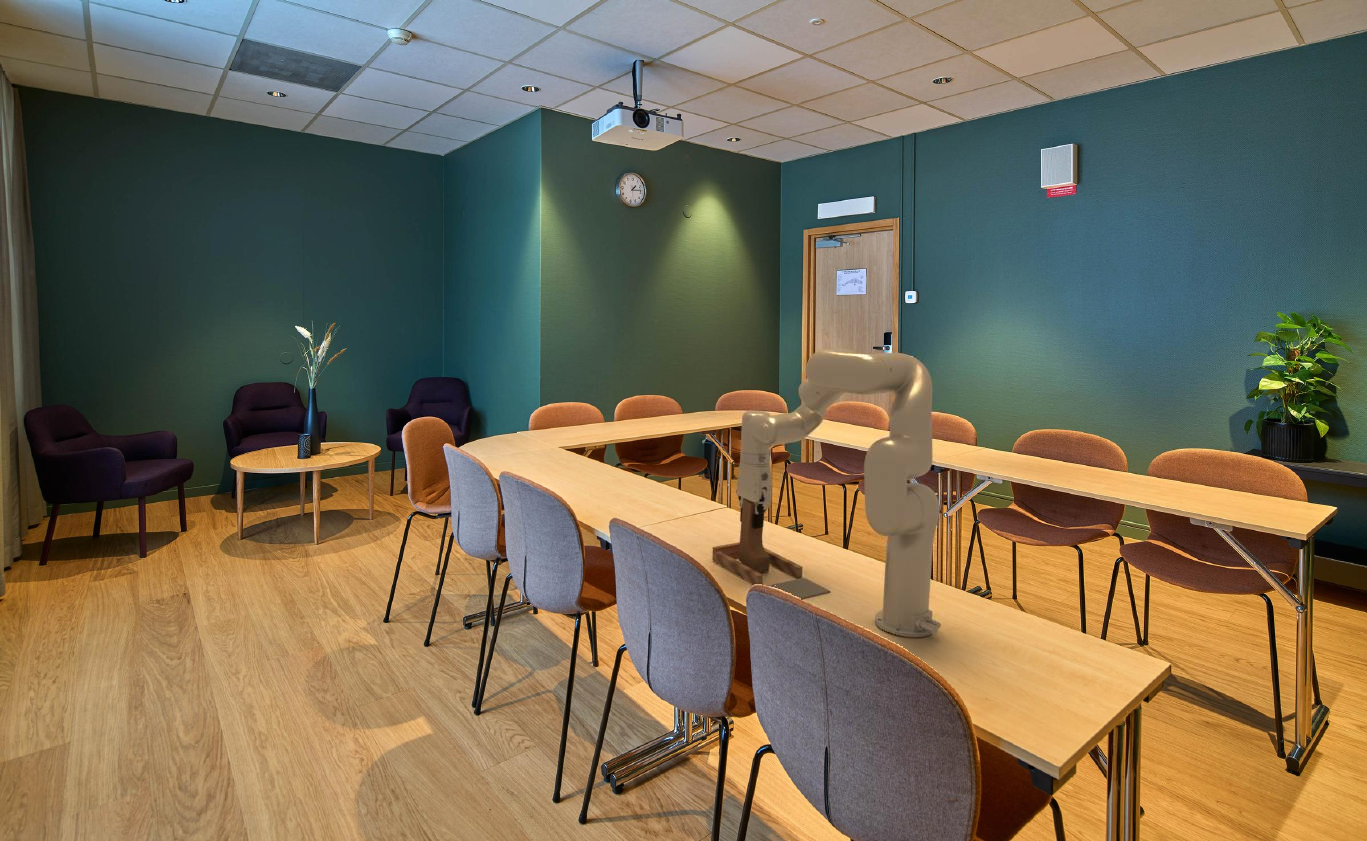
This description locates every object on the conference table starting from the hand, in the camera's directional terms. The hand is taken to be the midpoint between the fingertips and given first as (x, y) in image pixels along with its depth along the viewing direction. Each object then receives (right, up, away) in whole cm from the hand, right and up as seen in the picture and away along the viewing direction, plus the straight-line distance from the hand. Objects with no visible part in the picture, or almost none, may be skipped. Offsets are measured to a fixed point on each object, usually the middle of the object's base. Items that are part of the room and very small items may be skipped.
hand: (751, 523), depth 188 cm
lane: (+1, -12, -1) cm, 12 cm away
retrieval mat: (+9, -14, -15) cm, 22 cm away
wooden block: (0, -12, +1) cm, 12 cm away
